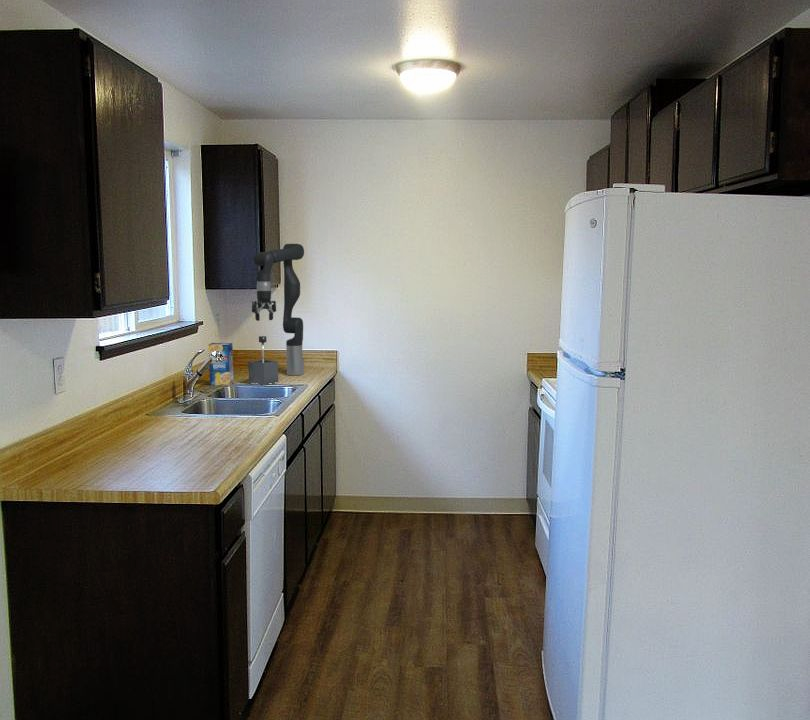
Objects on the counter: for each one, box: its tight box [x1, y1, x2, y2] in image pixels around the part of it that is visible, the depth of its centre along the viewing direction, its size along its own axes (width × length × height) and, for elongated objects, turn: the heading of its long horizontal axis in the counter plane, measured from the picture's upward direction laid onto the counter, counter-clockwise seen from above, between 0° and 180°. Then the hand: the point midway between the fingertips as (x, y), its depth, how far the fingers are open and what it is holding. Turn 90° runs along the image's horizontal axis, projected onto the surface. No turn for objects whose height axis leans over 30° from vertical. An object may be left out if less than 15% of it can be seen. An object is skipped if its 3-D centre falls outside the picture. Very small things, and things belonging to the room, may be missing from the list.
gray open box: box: [247, 359, 279, 385], centre depth 398 cm, size 11×11×12 cm
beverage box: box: [208, 342, 235, 386], centre depth 394 cm, size 7×11×22 cm, turn 87°
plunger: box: [258, 335, 267, 363], centre depth 396 cm, size 8×8×16 cm
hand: (264, 320), depth 397 cm, fingers open, 8 cm apart
